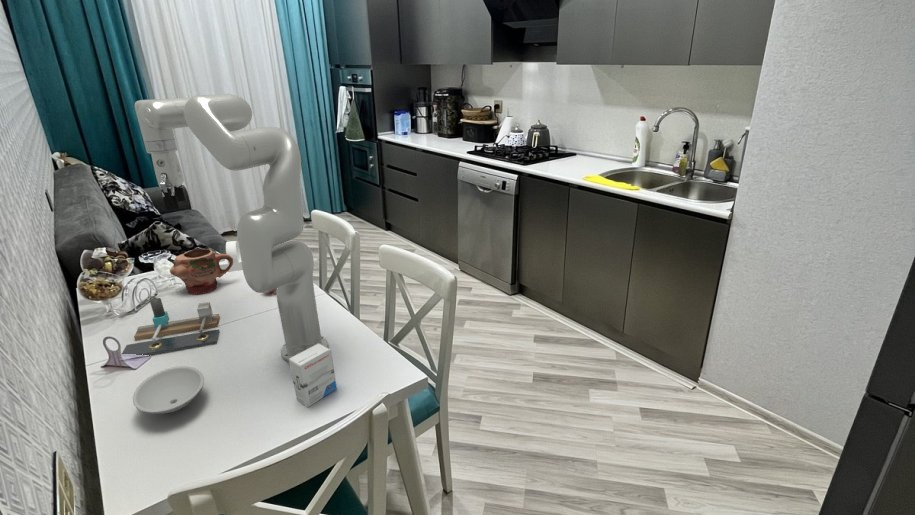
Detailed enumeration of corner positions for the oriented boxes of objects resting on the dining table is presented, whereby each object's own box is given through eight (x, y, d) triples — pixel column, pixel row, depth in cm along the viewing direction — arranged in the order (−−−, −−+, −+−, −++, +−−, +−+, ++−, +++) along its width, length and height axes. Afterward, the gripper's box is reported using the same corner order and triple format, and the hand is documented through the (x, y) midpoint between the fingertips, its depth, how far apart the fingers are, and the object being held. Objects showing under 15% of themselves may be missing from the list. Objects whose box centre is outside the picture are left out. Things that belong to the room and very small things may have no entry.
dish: (138, 395, 114) (133, 378, 112) (204, 375, 121) (199, 358, 119) (138, 440, 100) (131, 421, 98) (212, 414, 107) (207, 396, 105)
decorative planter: (235, 275, 179) (228, 241, 174) (239, 287, 169) (232, 251, 164) (176, 288, 170) (166, 252, 165) (176, 301, 160) (166, 264, 155)
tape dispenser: (259, 268, 186) (254, 242, 182) (210, 274, 181) (203, 248, 177) (261, 259, 194) (256, 235, 190) (214, 265, 190) (208, 240, 186)
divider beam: (214, 339, 137) (209, 319, 135) (127, 354, 131) (121, 334, 128) (220, 317, 149) (215, 299, 146) (140, 330, 142) (134, 312, 140)
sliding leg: (160, 342, 132) (152, 315, 129) (148, 344, 132) (139, 317, 128) (170, 322, 143) (162, 296, 140) (159, 323, 142) (151, 298, 139)
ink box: (325, 381, 117) (319, 341, 113) (337, 389, 114) (331, 348, 110) (295, 399, 111) (287, 357, 106) (307, 408, 108) (299, 365, 104)
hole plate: (216, 343, 134) (215, 340, 134) (120, 361, 128) (118, 357, 127) (219, 331, 141) (218, 328, 140) (127, 347, 134) (126, 344, 133)
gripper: (169, 149, 124) (185, 211, 131) (181, 141, 140) (195, 197, 146) (137, 151, 122) (154, 214, 129) (153, 142, 137) (168, 199, 144)
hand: (176, 205), depth 137 cm, fingers open, 9 cm apart
